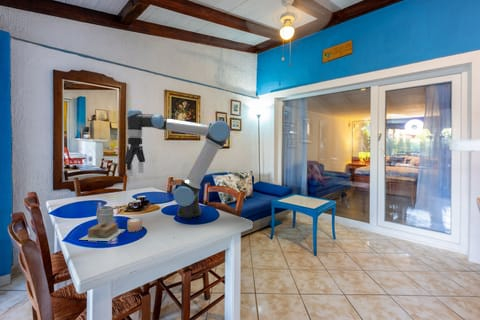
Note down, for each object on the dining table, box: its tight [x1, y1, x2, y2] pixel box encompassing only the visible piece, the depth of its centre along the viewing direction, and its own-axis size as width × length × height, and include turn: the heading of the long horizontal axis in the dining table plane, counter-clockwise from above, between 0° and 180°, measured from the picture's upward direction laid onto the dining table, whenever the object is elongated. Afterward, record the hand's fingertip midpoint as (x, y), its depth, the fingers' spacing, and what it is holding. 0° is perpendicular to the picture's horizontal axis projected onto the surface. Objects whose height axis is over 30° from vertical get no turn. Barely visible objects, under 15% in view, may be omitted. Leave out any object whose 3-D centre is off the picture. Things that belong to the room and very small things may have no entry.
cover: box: [87, 222, 119, 238], centre depth 109 cm, size 9×9×5 cm
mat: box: [78, 228, 126, 243], centre depth 109 cm, size 14×14×1 cm
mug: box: [95, 202, 116, 224], centre depth 123 cm, size 8×12×12 cm, turn 66°
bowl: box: [126, 217, 143, 233], centre depth 117 cm, size 7×7×5 cm
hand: (135, 174), depth 128 cm, fingers open, 13 cm apart
